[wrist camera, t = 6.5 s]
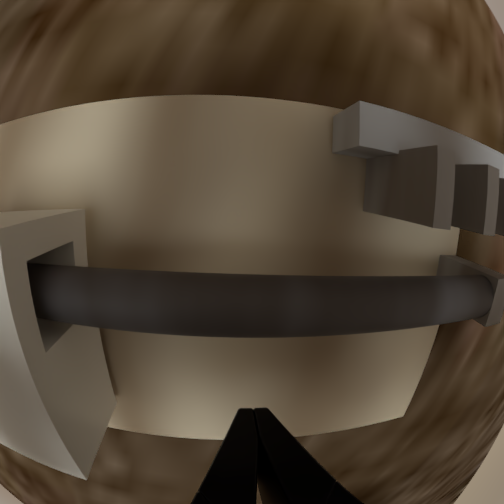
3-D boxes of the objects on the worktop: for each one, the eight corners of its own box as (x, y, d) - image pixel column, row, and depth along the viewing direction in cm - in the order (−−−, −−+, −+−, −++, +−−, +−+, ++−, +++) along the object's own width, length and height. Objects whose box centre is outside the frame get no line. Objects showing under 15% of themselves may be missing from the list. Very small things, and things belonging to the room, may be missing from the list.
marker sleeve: (88, 208, 7) (-2, 228, 3) (116, 403, 9) (86, 480, 5) (3, 211, 7) (-78, 230, 3) (39, 384, 9) (-2, 441, 5)
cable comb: (470, 152, 9) (550, 151, 4) (413, 406, 12) (453, 459, 7) (-54, 149, 6) (-113, 150, 2) (-19, 376, 9) (-55, 416, 5)
